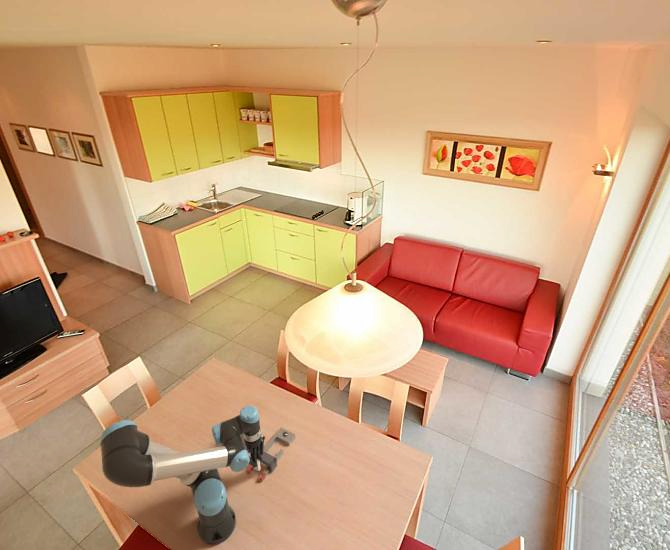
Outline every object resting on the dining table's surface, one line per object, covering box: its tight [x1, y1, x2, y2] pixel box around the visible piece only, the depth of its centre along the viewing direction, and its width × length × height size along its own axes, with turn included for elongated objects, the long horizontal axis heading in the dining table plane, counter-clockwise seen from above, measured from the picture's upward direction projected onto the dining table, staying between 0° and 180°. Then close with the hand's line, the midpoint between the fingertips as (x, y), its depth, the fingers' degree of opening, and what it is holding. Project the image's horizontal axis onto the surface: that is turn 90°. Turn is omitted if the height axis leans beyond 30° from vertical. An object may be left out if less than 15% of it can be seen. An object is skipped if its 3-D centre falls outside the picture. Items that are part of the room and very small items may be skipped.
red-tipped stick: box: [258, 448, 284, 482], centre depth 185 cm, size 17×2×2 cm, turn 151°
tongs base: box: [245, 427, 296, 475], centre depth 191 cm, size 28×9×3 cm, turn 151°
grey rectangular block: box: [260, 451, 278, 473], centre depth 185 cm, size 4×12×6 cm, turn 61°
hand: (257, 468), depth 181 cm, fingers closed
